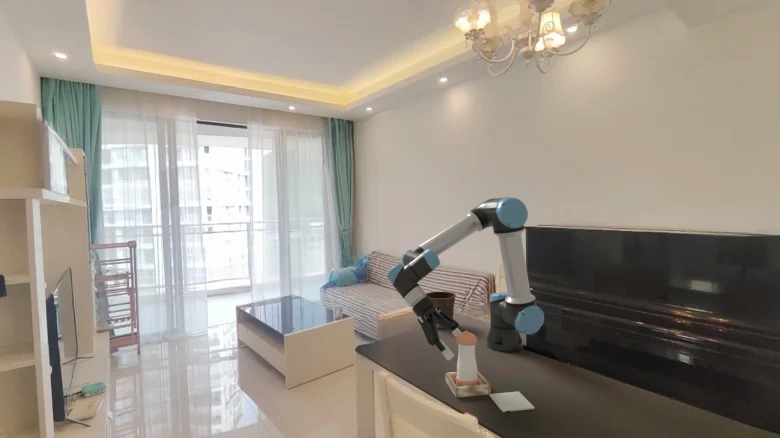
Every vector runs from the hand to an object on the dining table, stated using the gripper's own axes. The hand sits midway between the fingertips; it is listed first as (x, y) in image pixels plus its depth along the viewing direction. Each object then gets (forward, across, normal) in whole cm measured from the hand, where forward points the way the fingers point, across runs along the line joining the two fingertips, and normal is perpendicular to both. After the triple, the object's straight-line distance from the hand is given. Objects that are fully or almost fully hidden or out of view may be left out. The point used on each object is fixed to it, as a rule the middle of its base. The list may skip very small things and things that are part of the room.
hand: (459, 351), depth 126 cm
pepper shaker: (+10, -1, -7) cm, 12 cm away
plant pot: (-15, -58, -33) cm, 68 cm away
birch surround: (+10, -1, -7) cm, 12 cm away
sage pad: (+21, +2, +4) cm, 21 cm away
